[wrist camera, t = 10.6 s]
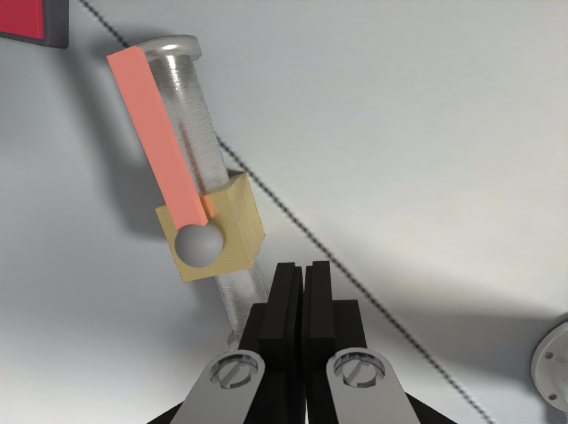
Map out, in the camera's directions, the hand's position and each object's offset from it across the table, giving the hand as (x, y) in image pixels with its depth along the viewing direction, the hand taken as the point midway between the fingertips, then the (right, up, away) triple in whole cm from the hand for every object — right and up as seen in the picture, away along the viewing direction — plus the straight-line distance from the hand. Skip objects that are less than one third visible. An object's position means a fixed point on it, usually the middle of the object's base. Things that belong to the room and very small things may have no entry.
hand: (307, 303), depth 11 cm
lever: (-9, +7, +16) cm, 20 cm away
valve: (-7, +4, +26) cm, 27 cm away
